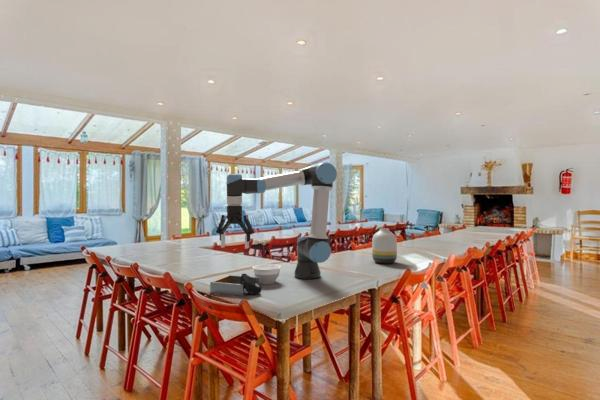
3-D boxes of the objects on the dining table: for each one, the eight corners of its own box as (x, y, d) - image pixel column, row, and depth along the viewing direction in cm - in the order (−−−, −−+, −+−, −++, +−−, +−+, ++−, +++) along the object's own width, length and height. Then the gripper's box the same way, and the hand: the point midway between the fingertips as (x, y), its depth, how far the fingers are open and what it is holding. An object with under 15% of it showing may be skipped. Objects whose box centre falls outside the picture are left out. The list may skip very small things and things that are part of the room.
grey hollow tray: (259, 287, 177) (259, 277, 177) (243, 295, 161) (243, 285, 161) (229, 284, 183) (229, 274, 183) (210, 292, 167) (210, 282, 167)
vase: (372, 264, 238) (372, 229, 238) (371, 260, 254) (371, 227, 254) (398, 265, 235) (398, 229, 235) (395, 260, 252) (395, 227, 252)
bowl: (256, 287, 177) (256, 270, 177) (248, 280, 191) (248, 265, 191) (286, 284, 183) (285, 268, 183) (275, 278, 198) (275, 263, 198)
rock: (234, 275, 166) (248, 272, 160) (246, 273, 172) (260, 270, 166) (237, 298, 163) (252, 295, 158) (249, 295, 170) (264, 292, 164)
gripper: (260, 205, 172) (260, 247, 172) (217, 205, 181) (217, 245, 181) (253, 205, 165) (253, 249, 165) (208, 205, 174) (209, 247, 174)
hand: (234, 247), depth 173 cm, fingers open, 13 cm apart
